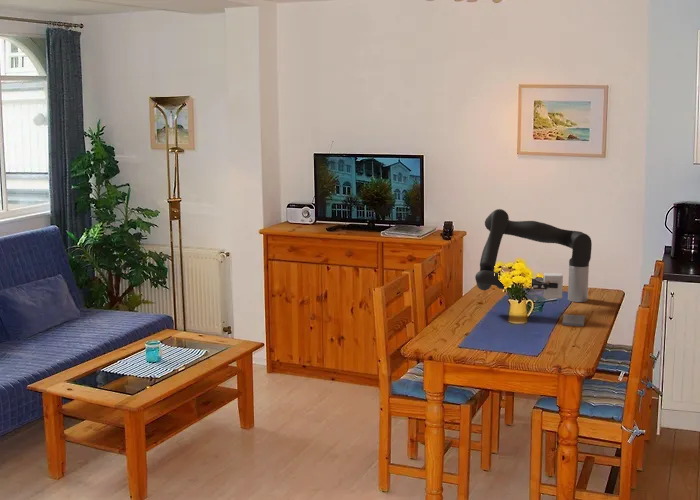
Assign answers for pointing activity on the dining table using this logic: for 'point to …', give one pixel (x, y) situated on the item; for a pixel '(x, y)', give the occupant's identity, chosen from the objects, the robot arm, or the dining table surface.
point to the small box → (553, 279)
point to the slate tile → (573, 320)
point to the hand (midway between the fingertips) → (558, 284)
